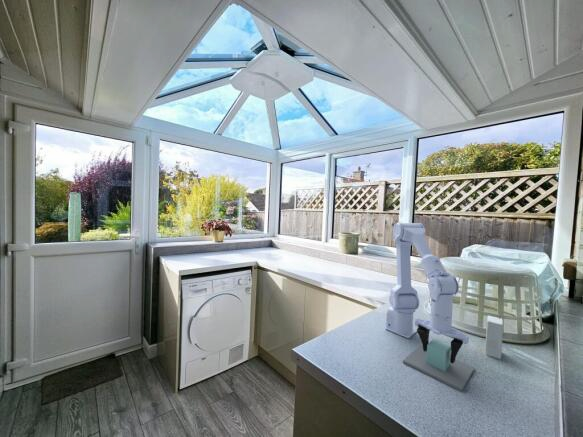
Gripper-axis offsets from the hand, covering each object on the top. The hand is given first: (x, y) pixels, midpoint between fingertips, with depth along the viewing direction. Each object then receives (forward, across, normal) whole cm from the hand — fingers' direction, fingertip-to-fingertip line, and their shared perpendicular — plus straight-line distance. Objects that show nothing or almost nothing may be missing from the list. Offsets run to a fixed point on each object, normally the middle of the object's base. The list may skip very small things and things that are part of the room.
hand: (438, 355), depth 77 cm
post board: (+3, 0, 0) cm, 3 cm away
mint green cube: (+3, 0, 0) cm, 3 cm away
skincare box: (+4, +10, +23) cm, 25 cm away
